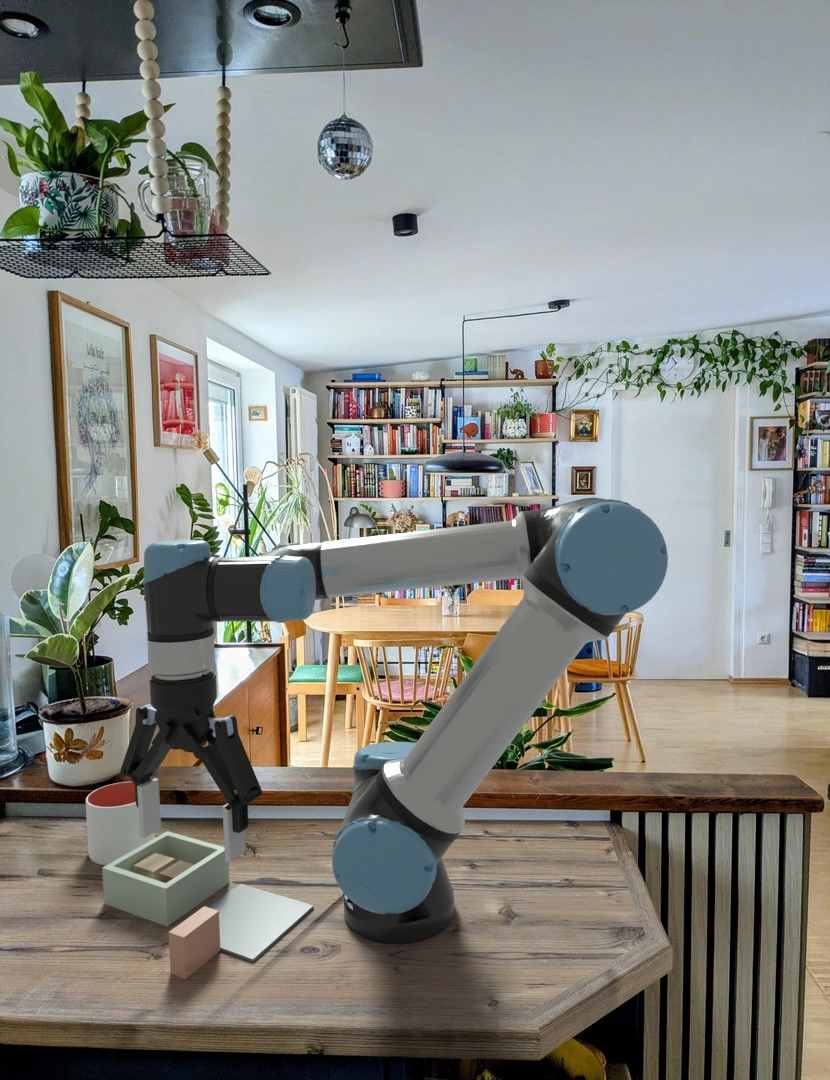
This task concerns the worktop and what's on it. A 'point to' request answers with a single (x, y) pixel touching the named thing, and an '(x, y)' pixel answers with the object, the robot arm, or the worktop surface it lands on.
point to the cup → (113, 823)
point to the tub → (173, 896)
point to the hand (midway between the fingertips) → (191, 844)
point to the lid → (233, 928)
